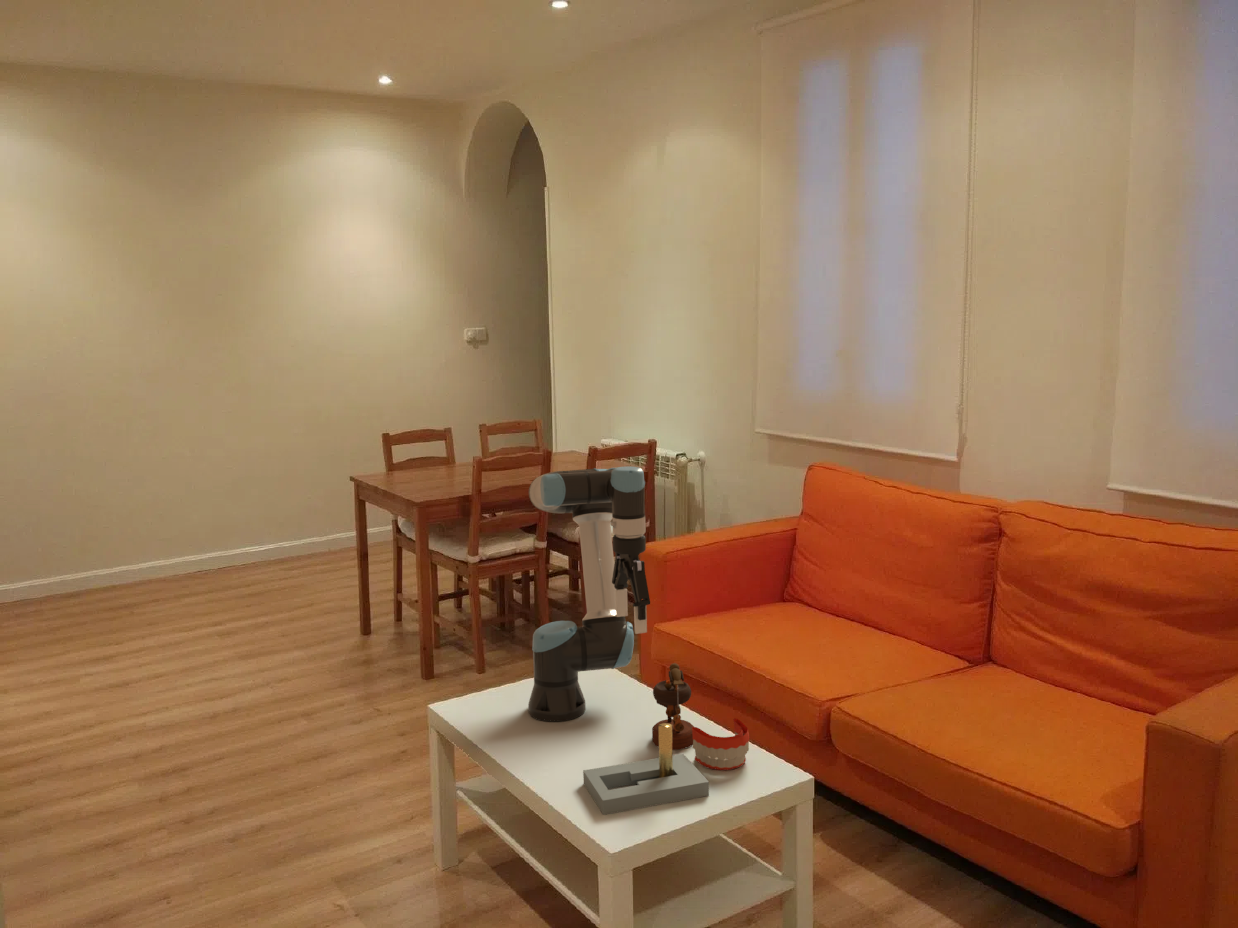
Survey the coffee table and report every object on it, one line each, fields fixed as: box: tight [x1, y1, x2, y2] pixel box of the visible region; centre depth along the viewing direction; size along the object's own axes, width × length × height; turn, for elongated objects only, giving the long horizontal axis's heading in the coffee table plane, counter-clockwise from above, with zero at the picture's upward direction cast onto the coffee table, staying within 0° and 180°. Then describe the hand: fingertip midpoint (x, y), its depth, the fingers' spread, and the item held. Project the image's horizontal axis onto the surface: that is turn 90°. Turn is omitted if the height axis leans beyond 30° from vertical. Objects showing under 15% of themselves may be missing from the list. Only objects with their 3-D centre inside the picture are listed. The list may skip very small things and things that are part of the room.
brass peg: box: [658, 723, 674, 778], centre depth 224 cm, size 6×6×14 cm
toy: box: [692, 718, 750, 771], centre depth 235 cm, size 12×10×8 cm
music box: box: [651, 662, 695, 751], centre depth 247 cm, size 15×11×20 cm
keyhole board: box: [582, 753, 710, 815], centre depth 223 cm, size 15×24×3 cm, turn 108°
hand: (631, 624), depth 235 cm, fingers open, 13 cm apart
